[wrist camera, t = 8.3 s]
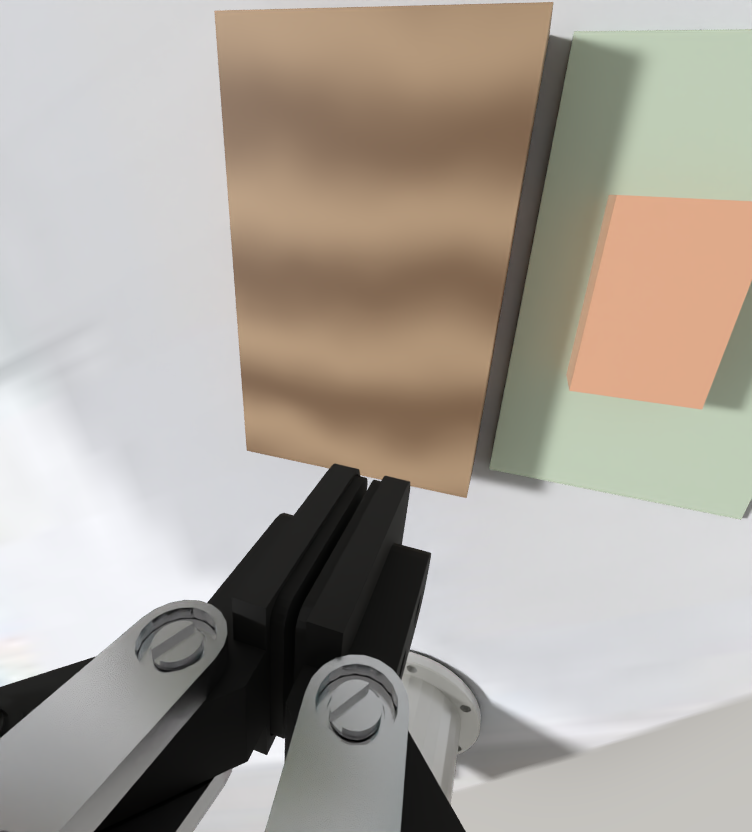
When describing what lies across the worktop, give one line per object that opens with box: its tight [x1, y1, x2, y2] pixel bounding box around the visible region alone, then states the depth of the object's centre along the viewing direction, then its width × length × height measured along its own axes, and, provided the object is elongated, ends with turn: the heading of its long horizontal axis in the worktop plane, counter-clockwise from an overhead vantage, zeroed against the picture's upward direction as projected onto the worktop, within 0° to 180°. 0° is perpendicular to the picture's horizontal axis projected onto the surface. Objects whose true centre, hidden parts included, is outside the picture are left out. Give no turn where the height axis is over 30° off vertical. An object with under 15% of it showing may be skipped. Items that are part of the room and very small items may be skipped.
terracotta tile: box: [566, 195, 752, 409], centre depth 22 cm, size 9×6×2 cm, turn 178°
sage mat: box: [489, 29, 752, 520], centre depth 23 cm, size 22×14×1 cm, turn 177°
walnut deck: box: [215, 2, 553, 498], centre depth 25 cm, size 22×14×4 cm, turn 177°
